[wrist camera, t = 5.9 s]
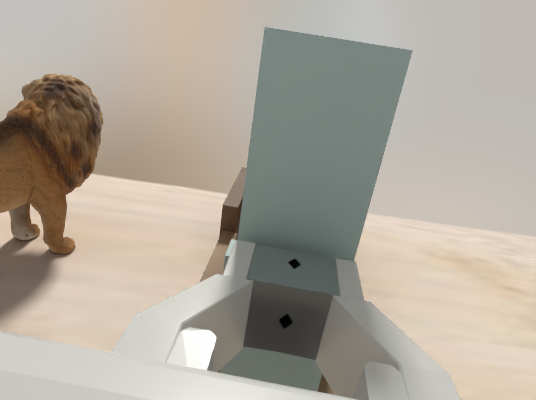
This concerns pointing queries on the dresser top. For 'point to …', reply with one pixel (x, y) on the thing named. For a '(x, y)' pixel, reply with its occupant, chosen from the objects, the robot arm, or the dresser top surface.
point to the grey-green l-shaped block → (313, 160)
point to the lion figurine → (47, 155)
